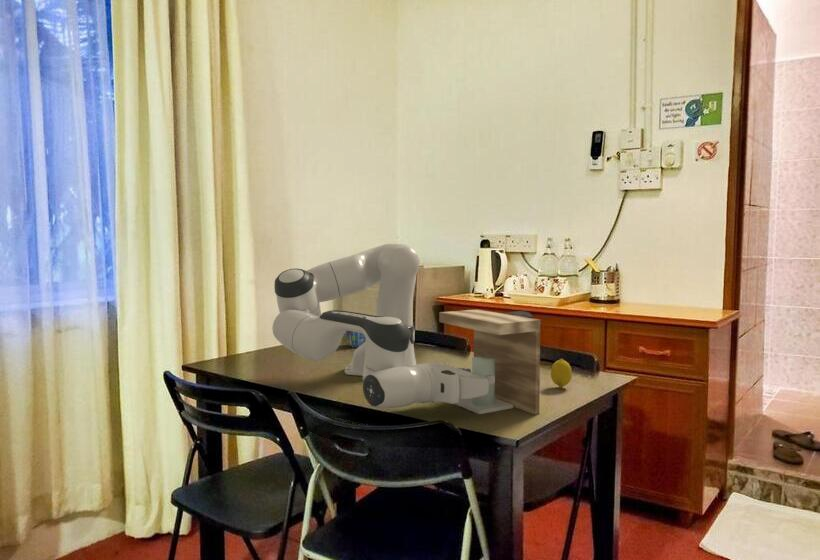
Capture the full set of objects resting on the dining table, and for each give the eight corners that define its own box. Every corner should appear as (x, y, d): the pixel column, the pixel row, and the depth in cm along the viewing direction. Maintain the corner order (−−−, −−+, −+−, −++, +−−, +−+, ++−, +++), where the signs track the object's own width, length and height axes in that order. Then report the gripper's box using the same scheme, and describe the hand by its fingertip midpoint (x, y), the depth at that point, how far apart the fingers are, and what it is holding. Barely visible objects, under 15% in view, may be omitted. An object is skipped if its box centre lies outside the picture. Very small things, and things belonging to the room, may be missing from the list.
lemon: (567, 391, 162) (568, 361, 161) (547, 388, 165) (548, 359, 164) (574, 387, 167) (574, 358, 166) (554, 384, 170) (554, 356, 169)
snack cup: (347, 350, 222) (347, 322, 221) (332, 346, 230) (331, 319, 229) (382, 345, 231) (382, 318, 231) (366, 341, 240) (366, 316, 239)
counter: (498, 422, 135) (499, 323, 134) (439, 397, 156) (439, 312, 155) (539, 413, 141) (540, 319, 140) (477, 391, 162) (477, 309, 161)
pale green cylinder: (472, 405, 146) (472, 360, 145) (471, 399, 151) (471, 355, 150) (495, 406, 145) (495, 360, 144) (494, 399, 151) (494, 355, 150)
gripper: (409, 386, 149) (456, 379, 156) (457, 406, 132) (507, 397, 139) (409, 360, 149) (456, 355, 156) (457, 377, 131) (507, 370, 138)
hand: (480, 375), depth 147 cm, fingers open, 8 cm apart
